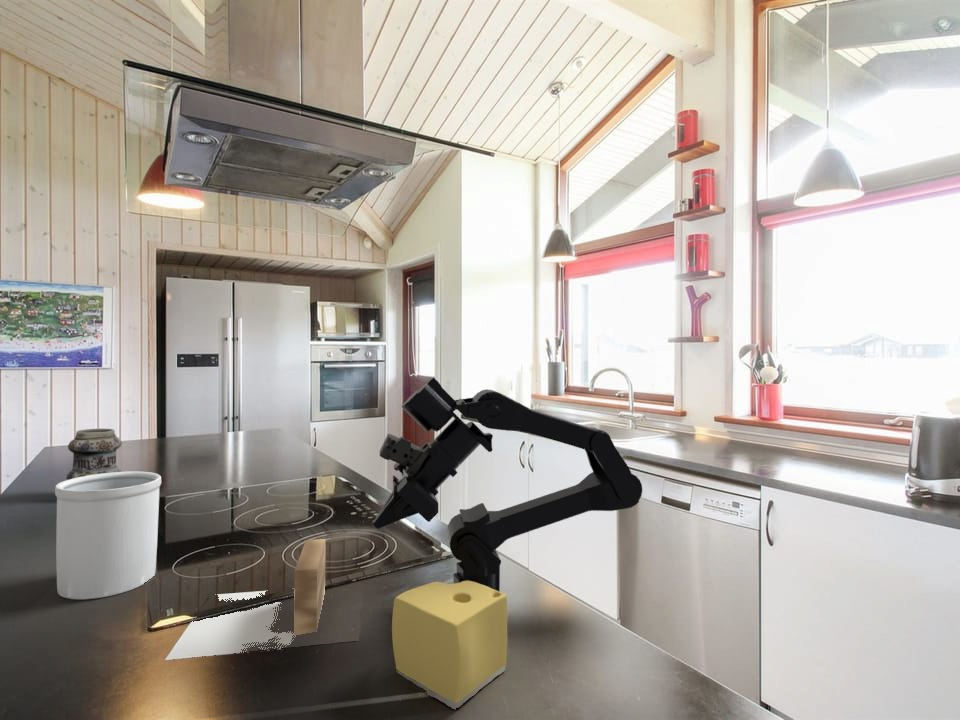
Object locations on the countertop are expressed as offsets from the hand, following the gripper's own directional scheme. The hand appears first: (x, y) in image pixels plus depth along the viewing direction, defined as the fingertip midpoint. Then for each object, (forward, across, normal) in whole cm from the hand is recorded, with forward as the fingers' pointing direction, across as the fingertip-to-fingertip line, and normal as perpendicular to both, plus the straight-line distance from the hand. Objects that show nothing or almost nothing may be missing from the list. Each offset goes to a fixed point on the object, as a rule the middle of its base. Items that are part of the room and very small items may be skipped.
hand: (375, 526), depth 79 cm
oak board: (+16, 0, +2) cm, 16 cm away
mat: (+19, 0, -1) cm, 19 cm away
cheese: (+3, +18, +16) cm, 24 cm away
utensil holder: (+41, -19, -22) cm, 50 cm away
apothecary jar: (+63, -79, -44) cm, 110 cm away
